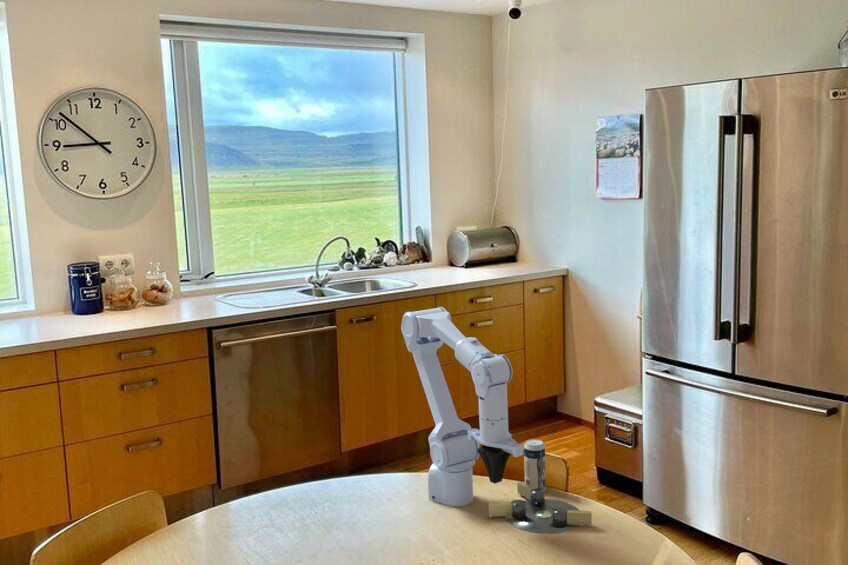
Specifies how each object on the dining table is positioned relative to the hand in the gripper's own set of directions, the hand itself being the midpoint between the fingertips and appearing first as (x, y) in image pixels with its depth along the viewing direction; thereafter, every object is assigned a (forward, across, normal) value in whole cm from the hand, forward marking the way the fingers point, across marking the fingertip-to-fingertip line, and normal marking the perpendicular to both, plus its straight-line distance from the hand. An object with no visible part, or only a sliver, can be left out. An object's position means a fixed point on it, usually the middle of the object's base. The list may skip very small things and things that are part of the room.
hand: (496, 481), depth 154 cm
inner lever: (+9, +1, -4) cm, 10 cm away
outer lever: (+9, -10, -11) cm, 17 cm away
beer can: (+10, +8, -18) cm, 22 cm away
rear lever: (+9, +4, -13) cm, 16 cm away
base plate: (+10, -3, -10) cm, 15 cm away
